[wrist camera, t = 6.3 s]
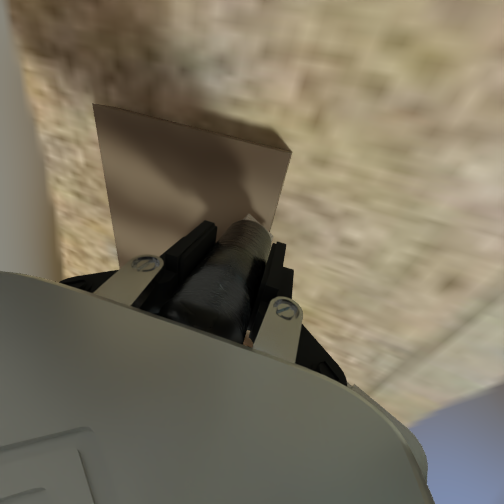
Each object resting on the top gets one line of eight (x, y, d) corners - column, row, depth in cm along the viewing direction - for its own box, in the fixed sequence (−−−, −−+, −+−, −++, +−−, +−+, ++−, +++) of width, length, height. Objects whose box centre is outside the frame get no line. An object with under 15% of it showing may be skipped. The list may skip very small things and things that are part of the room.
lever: (155, 348, 27) (90, 442, 18) (127, 329, 26) (45, 417, 18) (289, 237, 15) (273, 354, 7) (246, 194, 14) (168, 270, 6)
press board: (115, 107, 16) (23, 91, 10) (292, 151, 14) (286, 159, 9) (141, 329, 30) (108, 369, 24) (233, 361, 28) (217, 410, 23)
